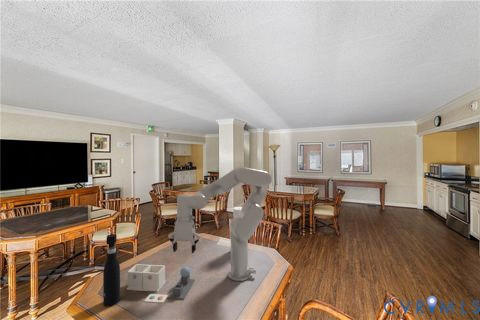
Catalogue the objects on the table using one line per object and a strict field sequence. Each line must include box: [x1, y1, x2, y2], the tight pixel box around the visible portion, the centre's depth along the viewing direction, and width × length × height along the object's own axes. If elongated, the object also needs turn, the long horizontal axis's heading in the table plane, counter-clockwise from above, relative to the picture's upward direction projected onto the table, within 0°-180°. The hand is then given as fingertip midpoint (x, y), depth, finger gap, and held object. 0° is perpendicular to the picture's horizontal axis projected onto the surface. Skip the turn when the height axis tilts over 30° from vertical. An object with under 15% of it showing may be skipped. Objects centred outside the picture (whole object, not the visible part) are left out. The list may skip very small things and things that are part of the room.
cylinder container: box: [232, 206, 244, 219], centre depth 145 cm, size 9×9×30 cm
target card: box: [143, 293, 169, 304], centre depth 94 cm, size 9×5×1 cm, turn 84°
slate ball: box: [179, 266, 191, 277], centre depth 106 cm, size 5×5×5 cm
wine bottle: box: [102, 233, 121, 308], centre depth 92 cm, size 6×6×30 cm
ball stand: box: [166, 273, 196, 300], centre depth 101 cm, size 8×15×4 cm, turn 174°
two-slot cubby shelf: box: [126, 263, 167, 293], centre depth 104 cm, size 16×8×9 cm, turn 84°
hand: (184, 251), depth 106 cm, fingers open, 9 cm apart
